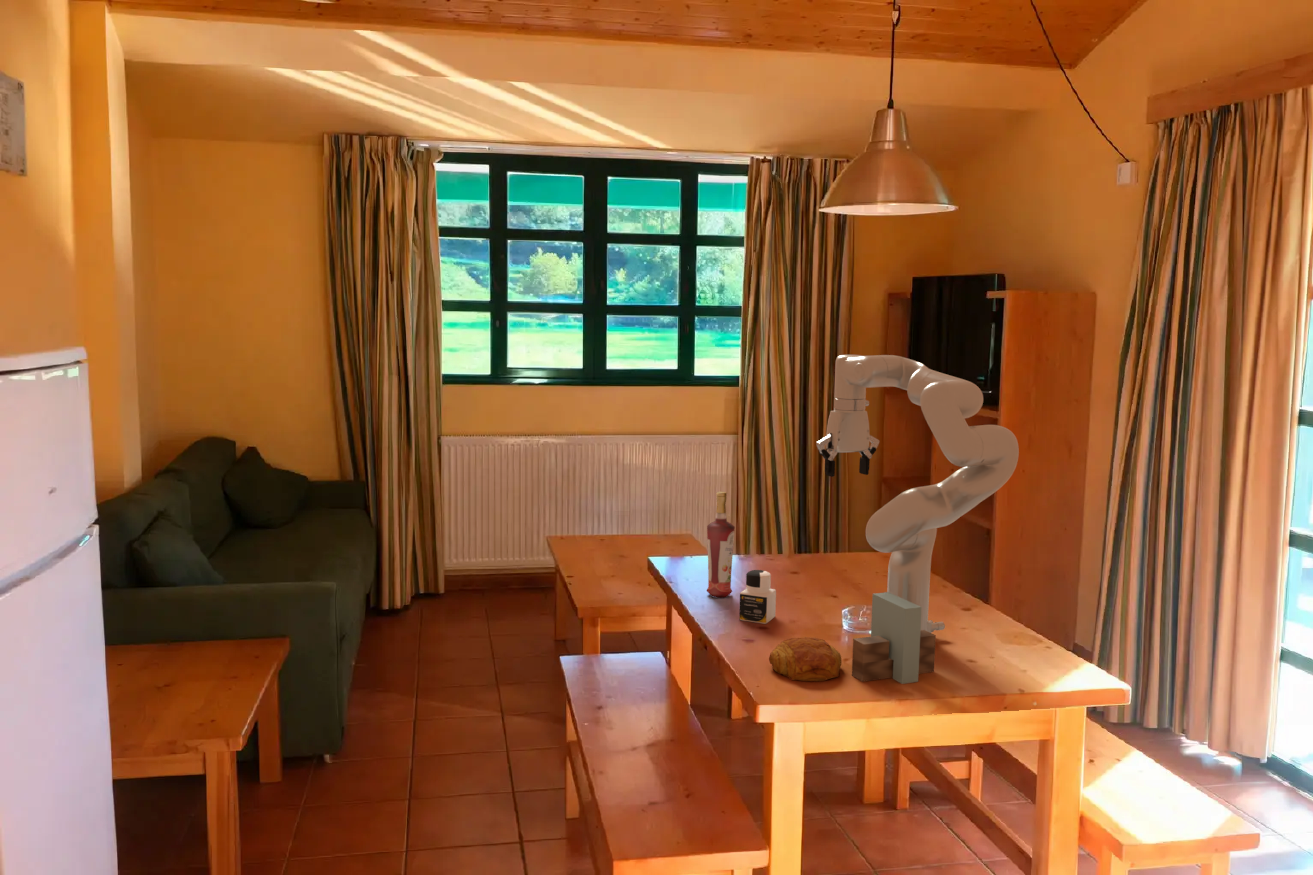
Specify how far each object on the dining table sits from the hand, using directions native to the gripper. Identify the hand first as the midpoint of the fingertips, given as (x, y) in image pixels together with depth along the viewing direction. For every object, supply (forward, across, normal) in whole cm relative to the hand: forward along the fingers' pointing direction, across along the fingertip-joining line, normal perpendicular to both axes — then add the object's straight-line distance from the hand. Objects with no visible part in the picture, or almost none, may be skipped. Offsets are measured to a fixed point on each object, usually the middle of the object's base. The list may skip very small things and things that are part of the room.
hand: (847, 474), depth 259 cm
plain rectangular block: (+36, +11, +38) cm, 54 cm away
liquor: (+36, +20, -29) cm, 51 cm away
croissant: (+37, +28, +30) cm, 55 cm away
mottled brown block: (+36, +11, +38) cm, 54 cm away
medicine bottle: (+36, +20, -7) cm, 42 cm away
